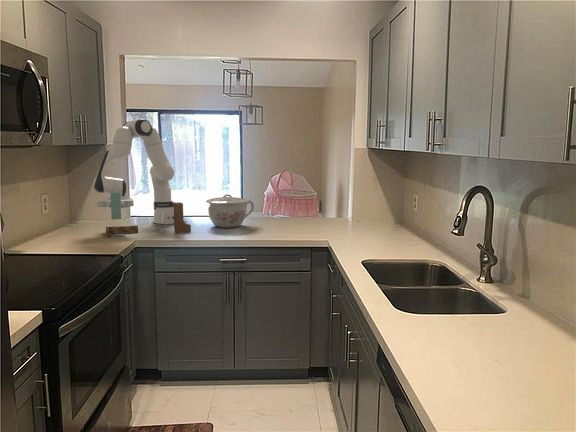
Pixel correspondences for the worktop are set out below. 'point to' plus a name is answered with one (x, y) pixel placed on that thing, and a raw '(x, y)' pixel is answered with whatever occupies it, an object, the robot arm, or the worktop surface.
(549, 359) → the worktop surface
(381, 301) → the worktop surface
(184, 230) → the wooden block
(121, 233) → the pad
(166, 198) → the robot arm
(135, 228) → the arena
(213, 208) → the chamber pot
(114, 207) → the painted block
